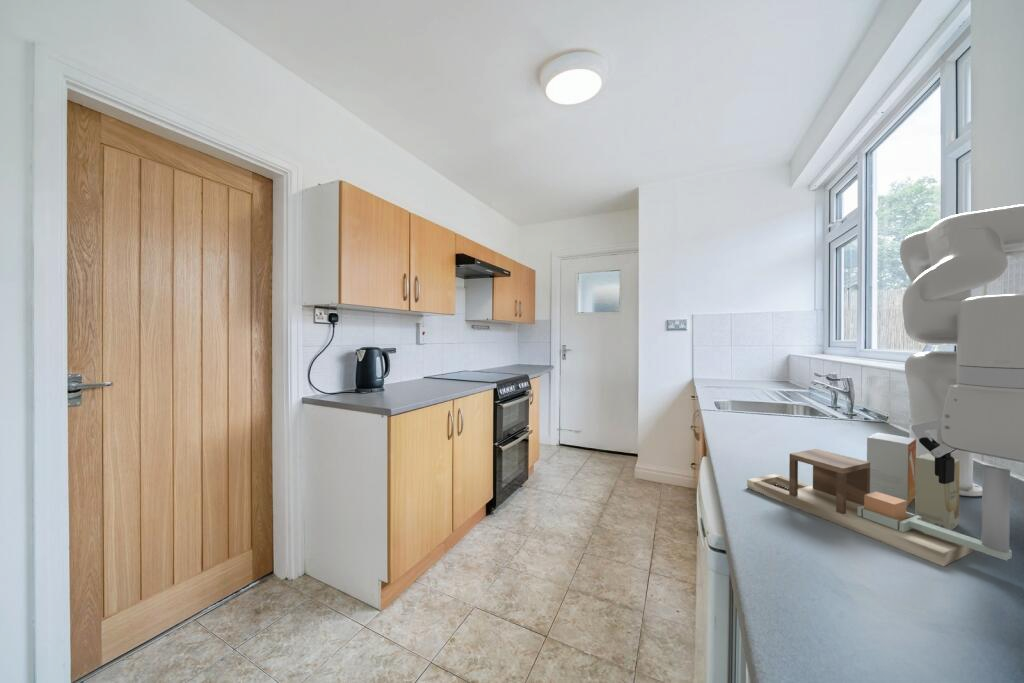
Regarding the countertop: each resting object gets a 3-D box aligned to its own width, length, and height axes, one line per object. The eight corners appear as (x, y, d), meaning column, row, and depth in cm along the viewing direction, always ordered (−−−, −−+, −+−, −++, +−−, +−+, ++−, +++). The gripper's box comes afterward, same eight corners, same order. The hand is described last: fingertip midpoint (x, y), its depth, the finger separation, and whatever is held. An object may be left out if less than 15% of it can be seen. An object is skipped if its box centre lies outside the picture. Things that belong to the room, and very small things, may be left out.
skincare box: (949, 533, 62) (950, 464, 62) (913, 521, 66) (914, 457, 66) (960, 524, 65) (961, 458, 65) (925, 514, 69) (926, 452, 69)
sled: (875, 509, 66) (876, 439, 66) (1017, 557, 52) (1018, 467, 52) (857, 515, 64) (858, 442, 64) (1000, 567, 50) (1001, 473, 50)
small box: (908, 507, 72) (909, 444, 72) (865, 496, 77) (865, 436, 77) (916, 497, 76) (917, 438, 76) (875, 487, 82) (875, 431, 82)
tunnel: (815, 487, 77) (815, 448, 77) (869, 505, 68) (870, 462, 68) (789, 494, 73) (789, 453, 73) (842, 514, 65) (843, 468, 65)
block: (876, 512, 66) (876, 491, 66) (906, 523, 62) (906, 500, 62) (864, 516, 64) (864, 494, 64) (894, 527, 60) (894, 504, 60)
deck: (775, 481, 85) (775, 473, 85) (972, 551, 57) (973, 539, 57) (747, 488, 81) (747, 479, 81) (943, 566, 53) (943, 553, 53)
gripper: (1121, 385, 45) (1119, 518, 45) (924, 372, 61) (923, 470, 61) (1103, 388, 42) (1101, 530, 42) (902, 374, 58) (900, 477, 58)
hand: (996, 495), depth 52 cm, fingers open, 9 cm apart
